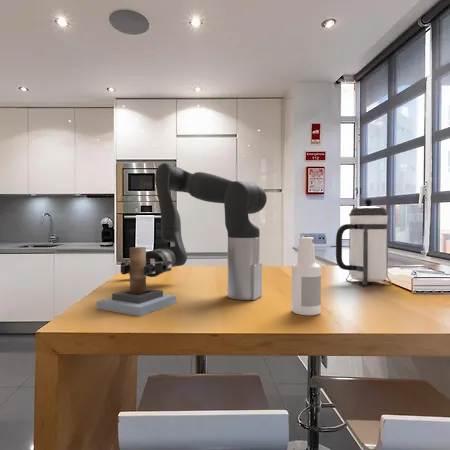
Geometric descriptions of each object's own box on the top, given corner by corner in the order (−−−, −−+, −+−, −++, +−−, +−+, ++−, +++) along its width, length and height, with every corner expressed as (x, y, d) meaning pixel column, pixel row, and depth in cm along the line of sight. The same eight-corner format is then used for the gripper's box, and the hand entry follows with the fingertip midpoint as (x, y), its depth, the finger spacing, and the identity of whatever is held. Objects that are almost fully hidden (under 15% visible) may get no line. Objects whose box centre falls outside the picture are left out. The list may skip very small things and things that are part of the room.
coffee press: (349, 277, 129) (349, 200, 129) (394, 282, 120) (395, 199, 119) (335, 284, 115) (335, 198, 115) (385, 290, 105) (386, 196, 105)
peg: (149, 304, 86) (149, 247, 86) (138, 308, 83) (138, 248, 83) (137, 303, 88) (137, 246, 88) (126, 306, 85) (126, 248, 85)
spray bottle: (315, 317, 75) (316, 238, 75) (287, 313, 79) (287, 237, 79) (324, 310, 81) (324, 237, 81) (297, 306, 85) (297, 236, 84)
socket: (176, 302, 89) (176, 289, 89) (140, 316, 76) (140, 300, 76) (136, 297, 95) (136, 285, 95) (97, 308, 82) (97, 294, 82)
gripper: (133, 249, 100) (106, 255, 84) (179, 250, 99) (161, 255, 82) (133, 274, 101) (106, 284, 84) (179, 275, 99) (161, 286, 82)
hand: (134, 270), depth 83 cm, fingers open, 5 cm apart
